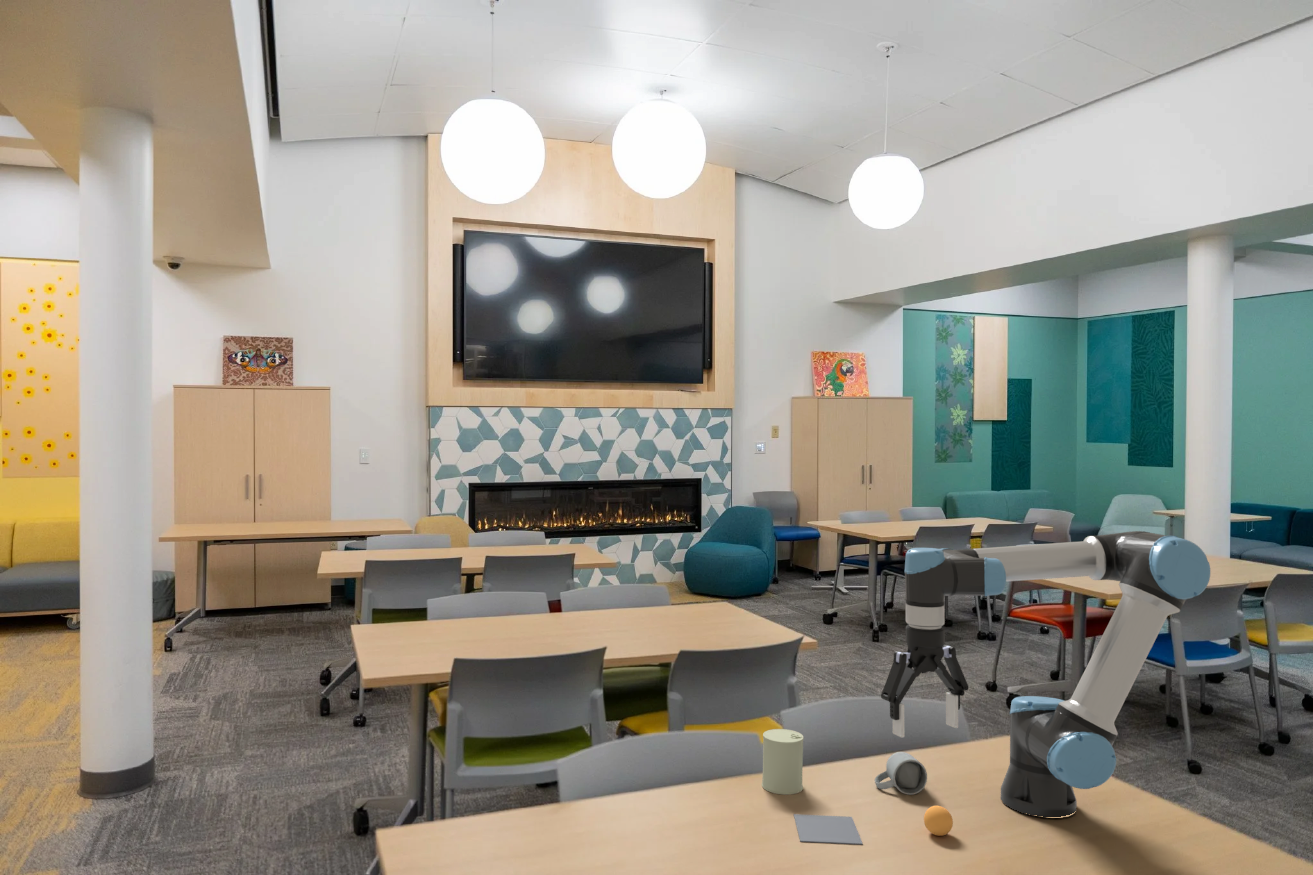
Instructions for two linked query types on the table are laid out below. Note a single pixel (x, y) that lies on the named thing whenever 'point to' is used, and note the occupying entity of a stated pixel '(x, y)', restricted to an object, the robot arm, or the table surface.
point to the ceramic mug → (903, 774)
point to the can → (782, 761)
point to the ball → (938, 820)
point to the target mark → (827, 829)
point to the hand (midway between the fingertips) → (925, 730)
